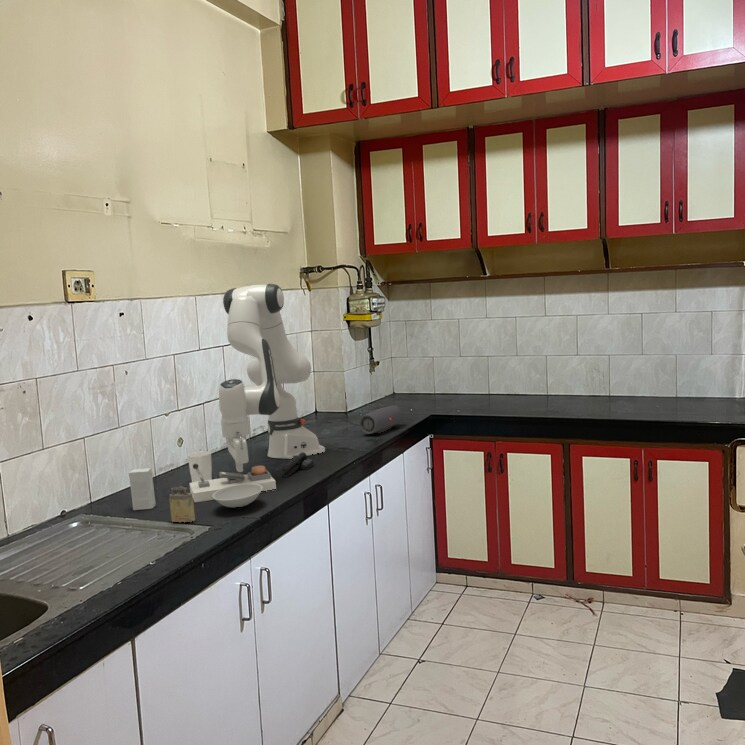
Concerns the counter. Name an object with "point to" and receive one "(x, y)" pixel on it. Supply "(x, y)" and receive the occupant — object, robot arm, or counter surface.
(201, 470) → the white cup
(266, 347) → the robot arm
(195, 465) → the toggle lever
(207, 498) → the switch panel
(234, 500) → the dish
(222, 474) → the block
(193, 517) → the lighter
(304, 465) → the can opener
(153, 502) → the skincare box
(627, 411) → the counter surface
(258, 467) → the push button
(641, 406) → the counter surface
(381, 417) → the bluetooth speaker
